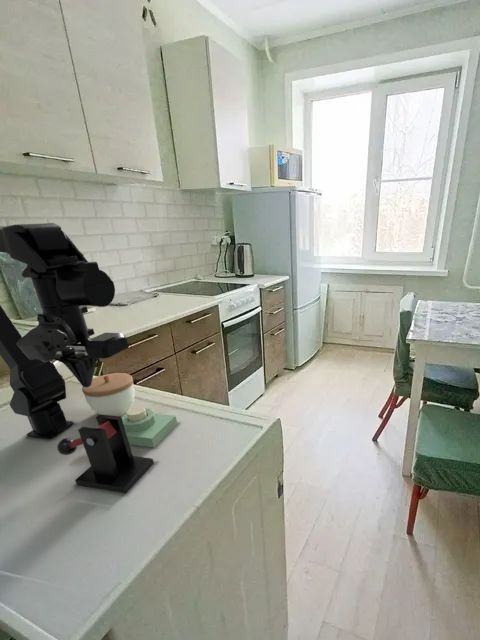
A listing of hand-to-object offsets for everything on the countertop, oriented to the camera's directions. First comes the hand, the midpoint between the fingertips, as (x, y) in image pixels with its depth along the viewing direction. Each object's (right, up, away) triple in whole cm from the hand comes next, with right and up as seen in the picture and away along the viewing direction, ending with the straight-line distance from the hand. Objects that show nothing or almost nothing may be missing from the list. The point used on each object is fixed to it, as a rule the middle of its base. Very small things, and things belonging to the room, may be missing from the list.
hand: (87, 386), depth 67 cm
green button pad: (+7, -10, +9) cm, 15 cm away
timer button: (+6, -7, +7) cm, 12 cm away
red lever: (+3, -11, -5) cm, 12 cm away
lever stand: (+7, -16, -4) cm, 18 cm away
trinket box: (-3, -6, +18) cm, 19 cm away
